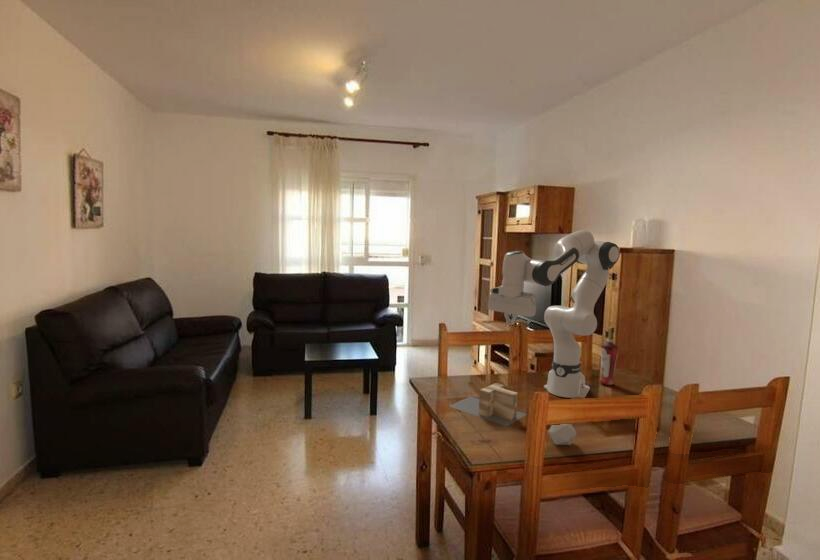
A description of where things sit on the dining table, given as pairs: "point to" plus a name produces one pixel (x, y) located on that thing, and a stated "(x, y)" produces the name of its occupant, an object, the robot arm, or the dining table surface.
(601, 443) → the dining table surface
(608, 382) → the liquor
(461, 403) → the t mat
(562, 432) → the die
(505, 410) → the t block
